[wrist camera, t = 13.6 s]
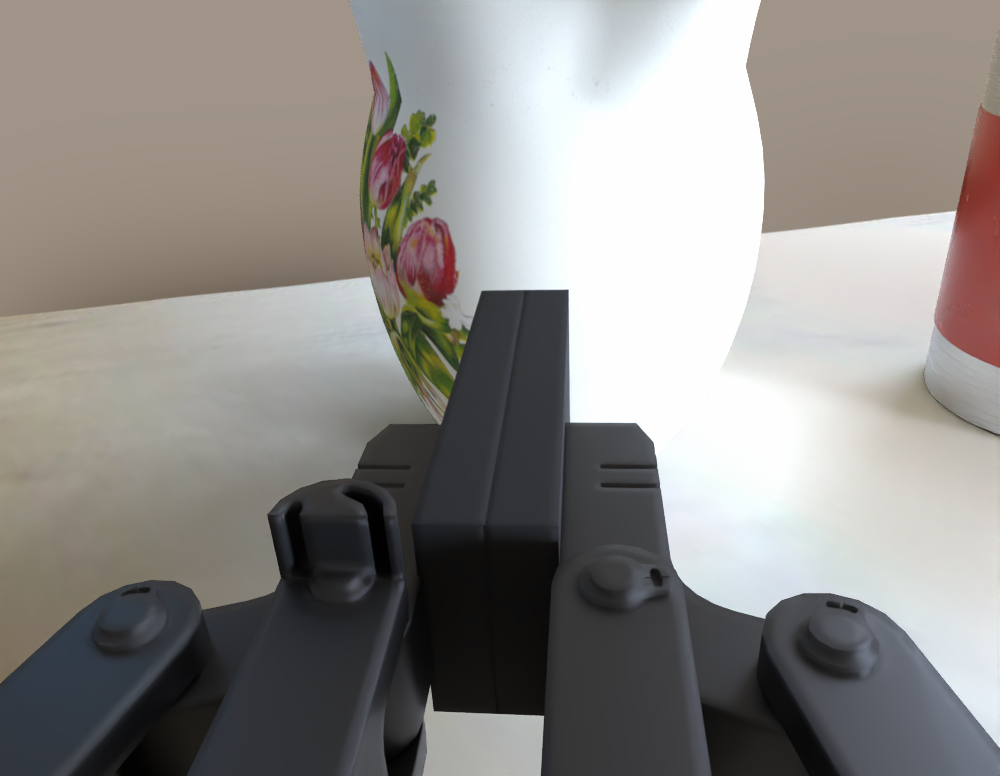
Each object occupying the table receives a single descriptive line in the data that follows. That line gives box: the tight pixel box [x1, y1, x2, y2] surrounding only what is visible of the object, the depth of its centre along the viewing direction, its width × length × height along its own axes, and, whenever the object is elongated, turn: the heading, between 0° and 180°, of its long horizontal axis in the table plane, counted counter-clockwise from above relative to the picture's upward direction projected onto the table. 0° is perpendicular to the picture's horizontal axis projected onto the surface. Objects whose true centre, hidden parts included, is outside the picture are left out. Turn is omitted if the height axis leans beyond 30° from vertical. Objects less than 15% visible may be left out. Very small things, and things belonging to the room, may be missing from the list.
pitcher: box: [349, 0, 764, 455], centre depth 24 cm, size 11×18×14 cm, turn 26°
